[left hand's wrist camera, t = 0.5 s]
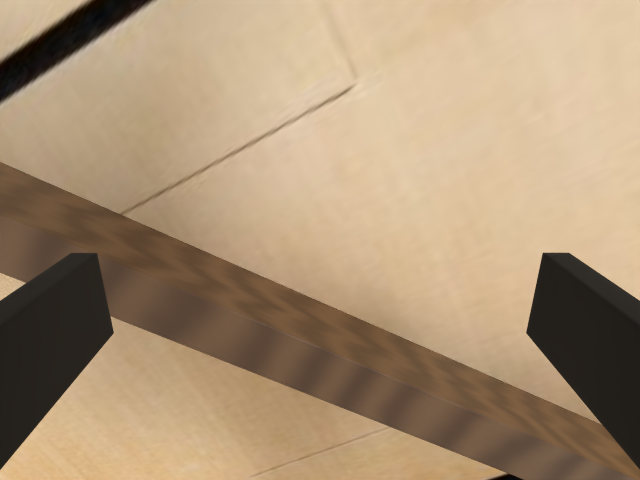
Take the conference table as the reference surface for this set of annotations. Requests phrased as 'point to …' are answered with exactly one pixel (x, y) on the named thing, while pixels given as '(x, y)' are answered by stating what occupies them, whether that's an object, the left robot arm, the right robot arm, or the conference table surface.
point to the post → (300, 339)
